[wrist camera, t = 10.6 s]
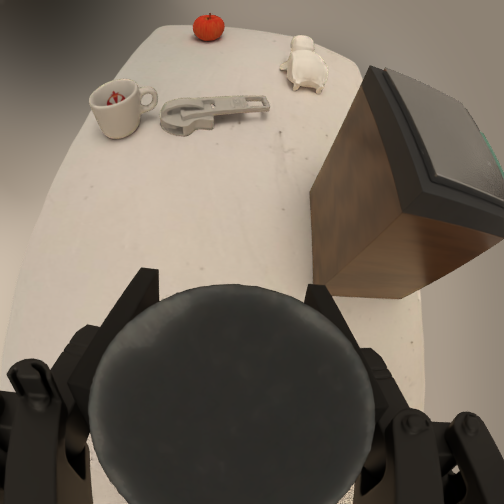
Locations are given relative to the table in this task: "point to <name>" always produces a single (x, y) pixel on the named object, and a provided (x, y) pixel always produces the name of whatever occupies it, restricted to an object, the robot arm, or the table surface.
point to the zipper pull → (204, 112)
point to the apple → (208, 27)
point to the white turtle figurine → (305, 65)
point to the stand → (377, 222)
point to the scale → (436, 153)
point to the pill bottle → (231, 402)
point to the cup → (120, 106)
